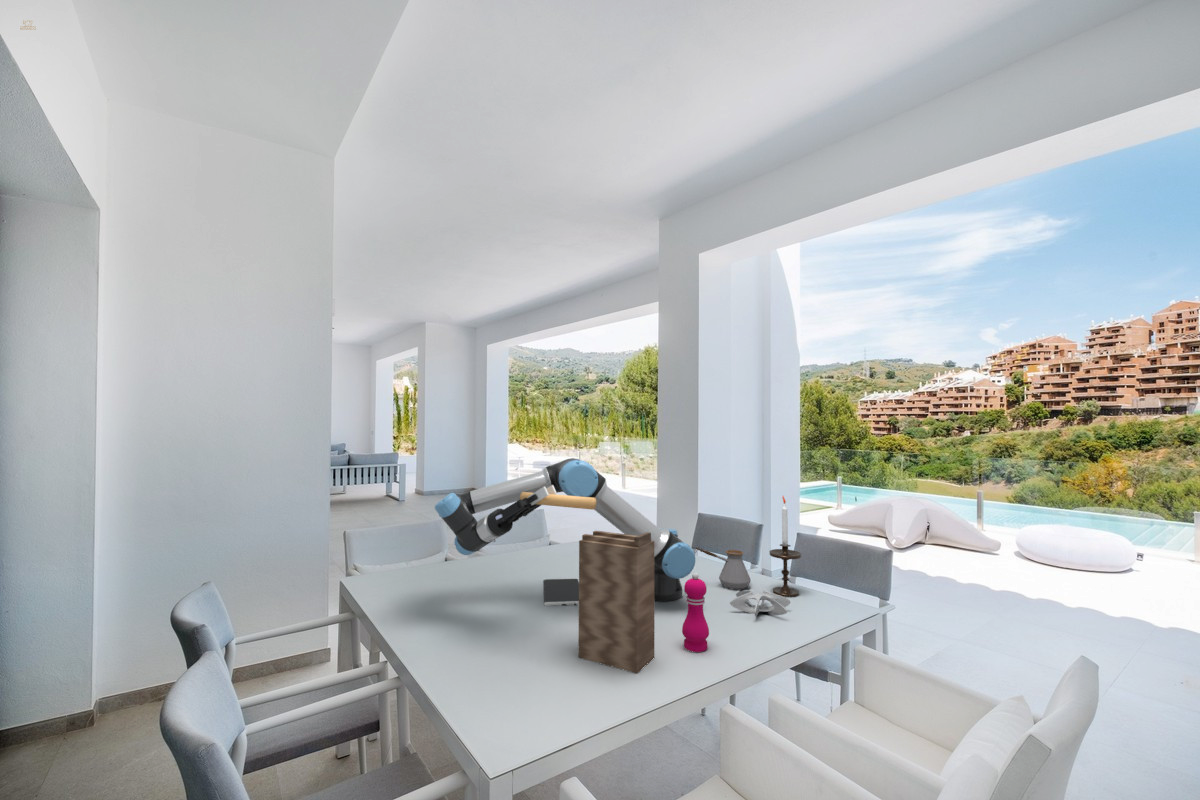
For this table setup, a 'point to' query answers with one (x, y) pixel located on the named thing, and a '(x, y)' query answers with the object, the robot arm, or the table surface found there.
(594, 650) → the stand
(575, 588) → the smartphone
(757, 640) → the table surface
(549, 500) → the pin
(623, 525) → the robot arm
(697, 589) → the pepper mill
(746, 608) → the sculpture
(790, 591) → the candlestick
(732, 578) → the coffee pot
